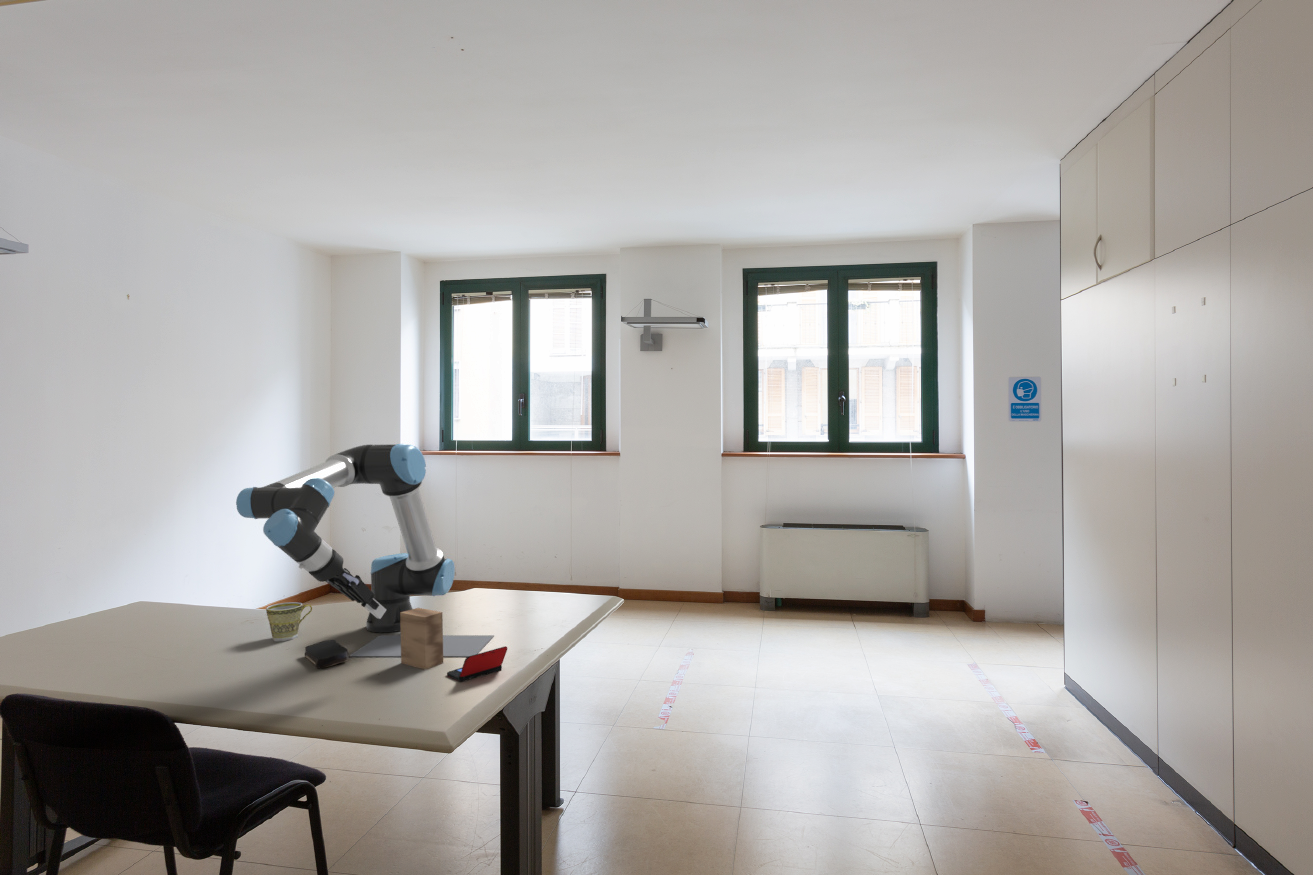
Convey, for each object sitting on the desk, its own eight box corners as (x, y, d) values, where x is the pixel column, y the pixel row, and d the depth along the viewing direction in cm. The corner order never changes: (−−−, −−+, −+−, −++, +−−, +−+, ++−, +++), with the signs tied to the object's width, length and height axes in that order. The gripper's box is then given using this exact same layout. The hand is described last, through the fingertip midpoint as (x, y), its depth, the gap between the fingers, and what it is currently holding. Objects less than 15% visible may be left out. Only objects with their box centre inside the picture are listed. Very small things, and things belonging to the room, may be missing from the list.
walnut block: (419, 657, 203) (418, 607, 203) (443, 663, 198) (442, 612, 197) (401, 663, 198) (400, 612, 198) (425, 669, 192) (424, 617, 192)
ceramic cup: (271, 645, 216) (270, 611, 216) (263, 638, 224) (262, 605, 224) (317, 636, 225) (316, 604, 225) (307, 629, 232) (307, 598, 232)
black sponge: (350, 664, 198) (350, 651, 198) (317, 671, 193) (317, 657, 193) (333, 650, 211) (333, 638, 211) (302, 657, 206) (302, 644, 206)
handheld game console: (487, 664, 196) (486, 637, 196) (509, 673, 189) (508, 645, 189) (445, 676, 188) (444, 647, 187) (466, 686, 180) (466, 657, 180)
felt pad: (379, 636, 224) (379, 635, 224) (494, 636, 222) (494, 635, 222) (349, 656, 204) (349, 655, 204) (474, 657, 202) (474, 656, 202)
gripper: (294, 570, 174) (357, 623, 189) (326, 575, 167) (389, 630, 181) (314, 545, 179) (374, 598, 193) (346, 549, 172) (406, 604, 186)
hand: (381, 613), depth 187 cm, fingers closed
